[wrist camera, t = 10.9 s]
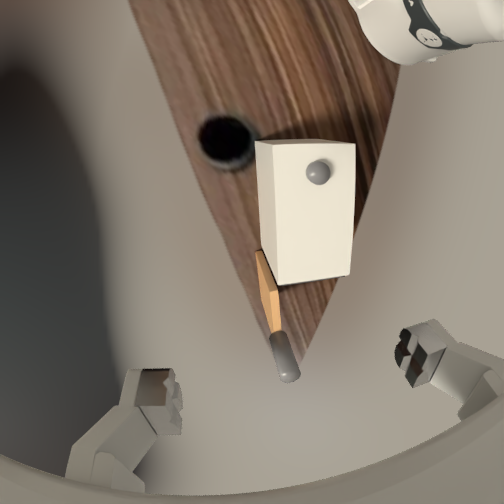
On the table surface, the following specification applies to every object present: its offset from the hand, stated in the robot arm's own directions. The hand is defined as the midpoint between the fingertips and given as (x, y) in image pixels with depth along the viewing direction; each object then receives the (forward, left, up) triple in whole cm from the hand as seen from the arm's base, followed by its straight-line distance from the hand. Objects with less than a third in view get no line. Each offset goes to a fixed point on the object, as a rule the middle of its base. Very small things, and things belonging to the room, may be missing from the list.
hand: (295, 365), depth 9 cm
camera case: (-2, +8, -33) cm, 34 cm away
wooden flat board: (+12, +10, -33) cm, 37 cm away
